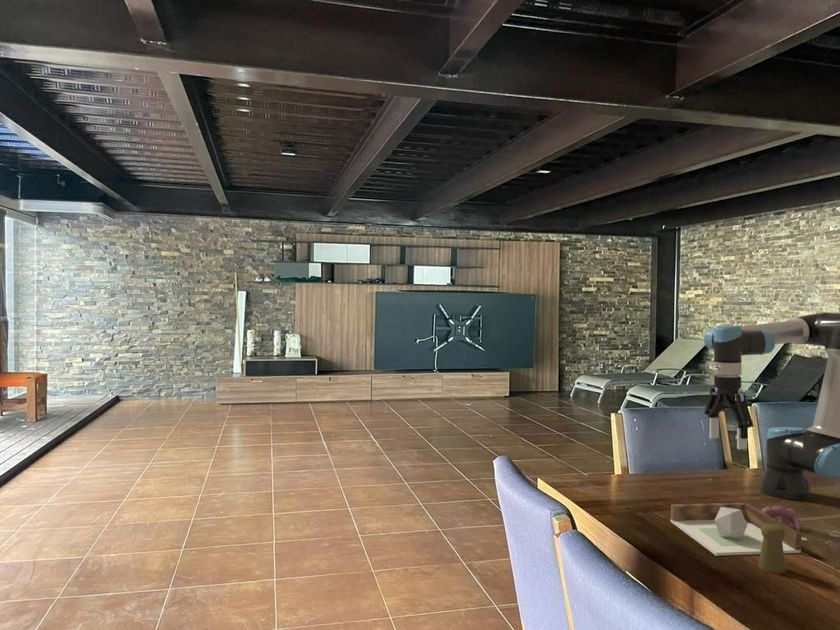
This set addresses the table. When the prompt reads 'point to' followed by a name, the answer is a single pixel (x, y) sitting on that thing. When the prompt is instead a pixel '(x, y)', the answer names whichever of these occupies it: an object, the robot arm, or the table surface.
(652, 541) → the table surface
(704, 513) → the wooden corner tray
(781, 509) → the video game controller
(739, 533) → the die
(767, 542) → the olive pawn figure
